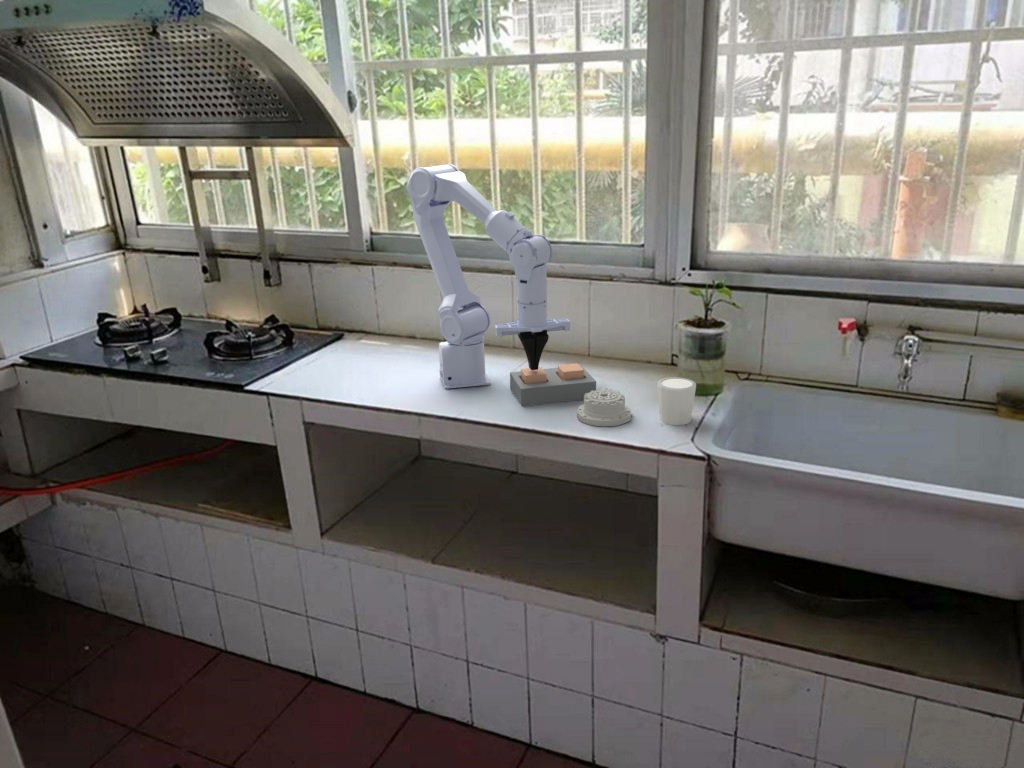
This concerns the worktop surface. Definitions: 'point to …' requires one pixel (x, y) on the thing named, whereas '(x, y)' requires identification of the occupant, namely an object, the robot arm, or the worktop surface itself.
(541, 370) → the button
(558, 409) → the worktop surface
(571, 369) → the button
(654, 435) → the worktop surface
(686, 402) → the white cup
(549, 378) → the switch block
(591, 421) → the mechanical component
